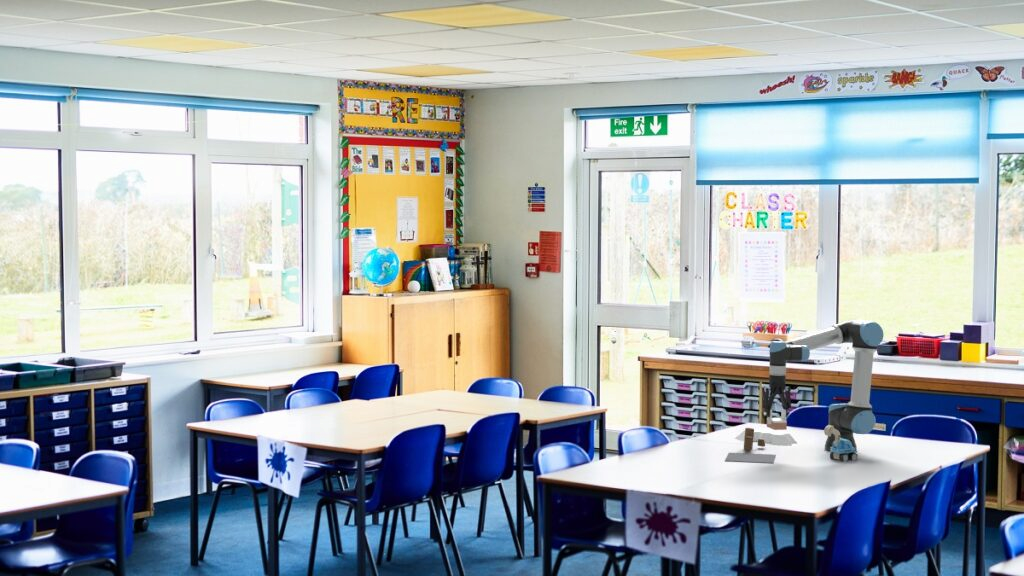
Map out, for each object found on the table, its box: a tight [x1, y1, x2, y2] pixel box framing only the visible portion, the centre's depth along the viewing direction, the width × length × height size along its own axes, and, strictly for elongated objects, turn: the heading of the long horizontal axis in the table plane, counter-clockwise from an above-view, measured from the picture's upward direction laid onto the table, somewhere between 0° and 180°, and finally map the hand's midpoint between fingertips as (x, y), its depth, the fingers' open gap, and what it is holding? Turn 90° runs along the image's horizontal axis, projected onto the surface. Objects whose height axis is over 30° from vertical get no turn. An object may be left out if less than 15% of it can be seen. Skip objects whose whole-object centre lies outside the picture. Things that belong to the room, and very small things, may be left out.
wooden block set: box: [743, 427, 766, 451], centre depth 599 cm, size 18×9×10 cm, turn 151°
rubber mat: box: [724, 452, 776, 465], centre depth 575 cm, size 22×22×1 cm
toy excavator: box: [823, 424, 858, 462], centre depth 571 cm, size 9×17×17 cm, turn 117°
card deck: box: [766, 417, 788, 431], centre depth 571 cm, size 6×10×4 cm, turn 8°
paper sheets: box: [734, 428, 798, 447], centre depth 627 cm, size 35×20×6 cm, turn 48°
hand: (776, 423), depth 571 cm, fingers closed on card deck, 7 cm apart
